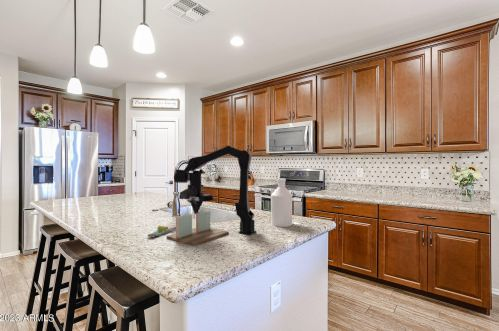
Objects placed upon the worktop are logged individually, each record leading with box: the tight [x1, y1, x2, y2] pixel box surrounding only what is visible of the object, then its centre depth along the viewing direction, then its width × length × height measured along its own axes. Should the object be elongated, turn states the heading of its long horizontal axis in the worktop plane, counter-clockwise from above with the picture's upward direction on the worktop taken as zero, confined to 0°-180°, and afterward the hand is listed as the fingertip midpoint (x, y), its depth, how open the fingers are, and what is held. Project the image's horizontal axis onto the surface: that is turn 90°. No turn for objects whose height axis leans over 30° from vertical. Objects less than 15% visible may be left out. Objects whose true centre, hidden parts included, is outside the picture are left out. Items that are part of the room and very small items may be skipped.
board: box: [166, 227, 230, 246], centre depth 124 cm, size 18×22×1 cm
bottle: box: [270, 178, 293, 228], centre depth 147 cm, size 12×12×25 cm
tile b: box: [175, 213, 193, 238], centre depth 121 cm, size 2×8×9 cm, turn 144°
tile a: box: [195, 209, 211, 232], centre depth 131 cm, size 2×8×9 cm, turn 144°
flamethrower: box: [147, 225, 176, 238], centre depth 135 cm, size 29×3×10 cm
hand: (195, 214), depth 134 cm, fingers closed
